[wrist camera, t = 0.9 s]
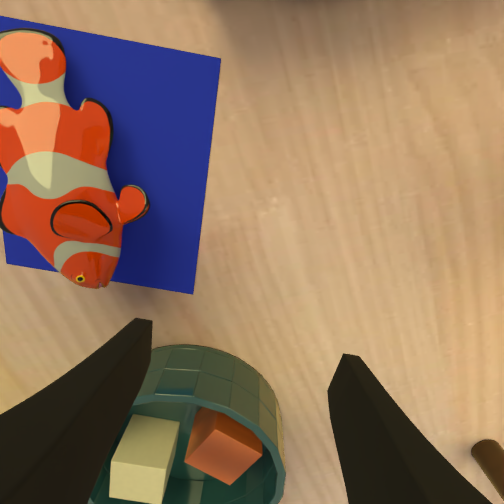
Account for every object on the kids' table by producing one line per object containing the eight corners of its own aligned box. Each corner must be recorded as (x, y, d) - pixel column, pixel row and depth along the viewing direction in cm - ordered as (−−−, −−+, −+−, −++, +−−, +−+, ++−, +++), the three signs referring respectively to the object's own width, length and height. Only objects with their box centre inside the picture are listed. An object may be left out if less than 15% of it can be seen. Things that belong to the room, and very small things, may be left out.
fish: (127, 308, 16) (-36, 281, 16) (155, 272, 20) (29, 251, 20) (137, 22, 12) (-88, -22, 11) (170, 56, 16) (10, 25, 16)
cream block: (175, 454, 27) (161, 505, 23) (130, 447, 26) (108, 497, 23) (180, 421, 25) (166, 470, 22) (132, 413, 25) (110, 461, 21)
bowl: (243, 495, 29) (240, 563, 24) (88, 451, 27) (53, 515, 23) (309, 379, 24) (321, 436, 19) (125, 318, 23) (90, 364, 18)
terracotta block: (234, 435, 26) (230, 485, 22) (195, 414, 25) (183, 462, 21) (262, 407, 25) (262, 455, 21) (222, 384, 24) (215, 429, 20)
